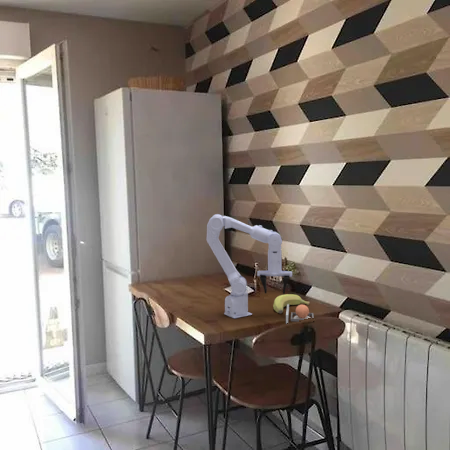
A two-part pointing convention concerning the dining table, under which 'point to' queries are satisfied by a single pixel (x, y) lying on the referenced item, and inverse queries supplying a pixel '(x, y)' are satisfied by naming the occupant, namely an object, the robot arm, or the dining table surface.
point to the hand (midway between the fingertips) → (274, 293)
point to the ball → (302, 311)
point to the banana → (287, 301)
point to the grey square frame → (299, 317)
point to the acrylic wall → (287, 313)
